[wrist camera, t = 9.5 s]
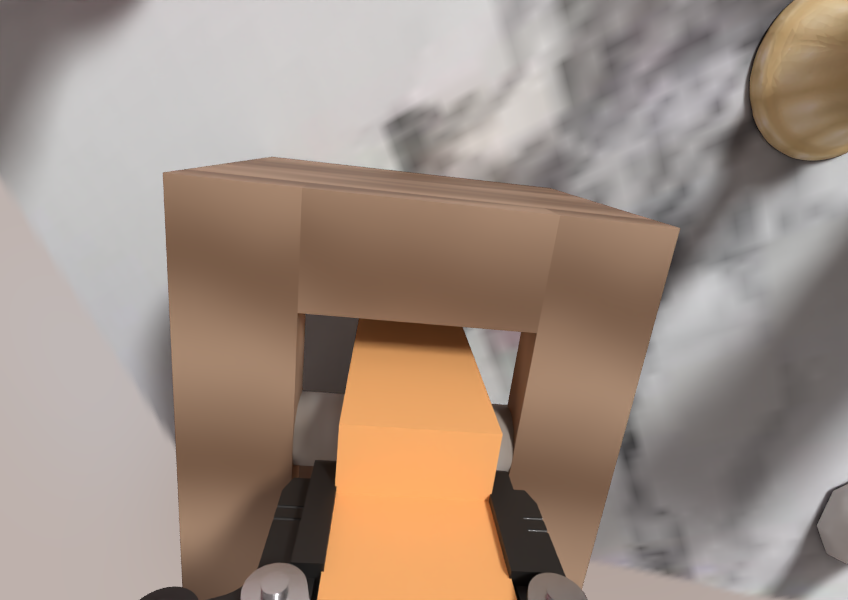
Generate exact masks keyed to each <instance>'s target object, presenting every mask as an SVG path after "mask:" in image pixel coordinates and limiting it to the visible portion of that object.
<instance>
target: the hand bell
mask: <svg viewBox="0 0 848 600" xmlns="http://www.w3.org/2000/svg"><path fill="white" fill-rule="evenodd" d="M750 100H751V107H752V111H753V117H754V119H755V122H756V125H757V127H758V129H759V130H760V132H761V133H762V135H763V137H764V138H765V139H766V141H767V142H768V143H769V144H771V145H772V146H773V147H774V148H775V149H777V150H778V151H780V152H782V153H784V154H786V155H787V156H789V157H792V158H796V159H801V160H824V159H829V158H834V157H837V156H840V155H843V154H845V153H847V152H848V0H794V1H793V2H792V3H790V4H789V5H788V6H787V7H786V8H785V9H784V10H783V11H782V12H781V13H780V14H779V16H778V17H777V18H776V19H775V21H774V22H773V24H772V25H771V27H770V28H769V30H768V32H767V33H766V35H765V37H764V39H763V41H762V43H761V44H760V46H759V49H758V51H757V54H756V57H755V60H754V63H753V68H752V72H751V77H750Z"/></svg>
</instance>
